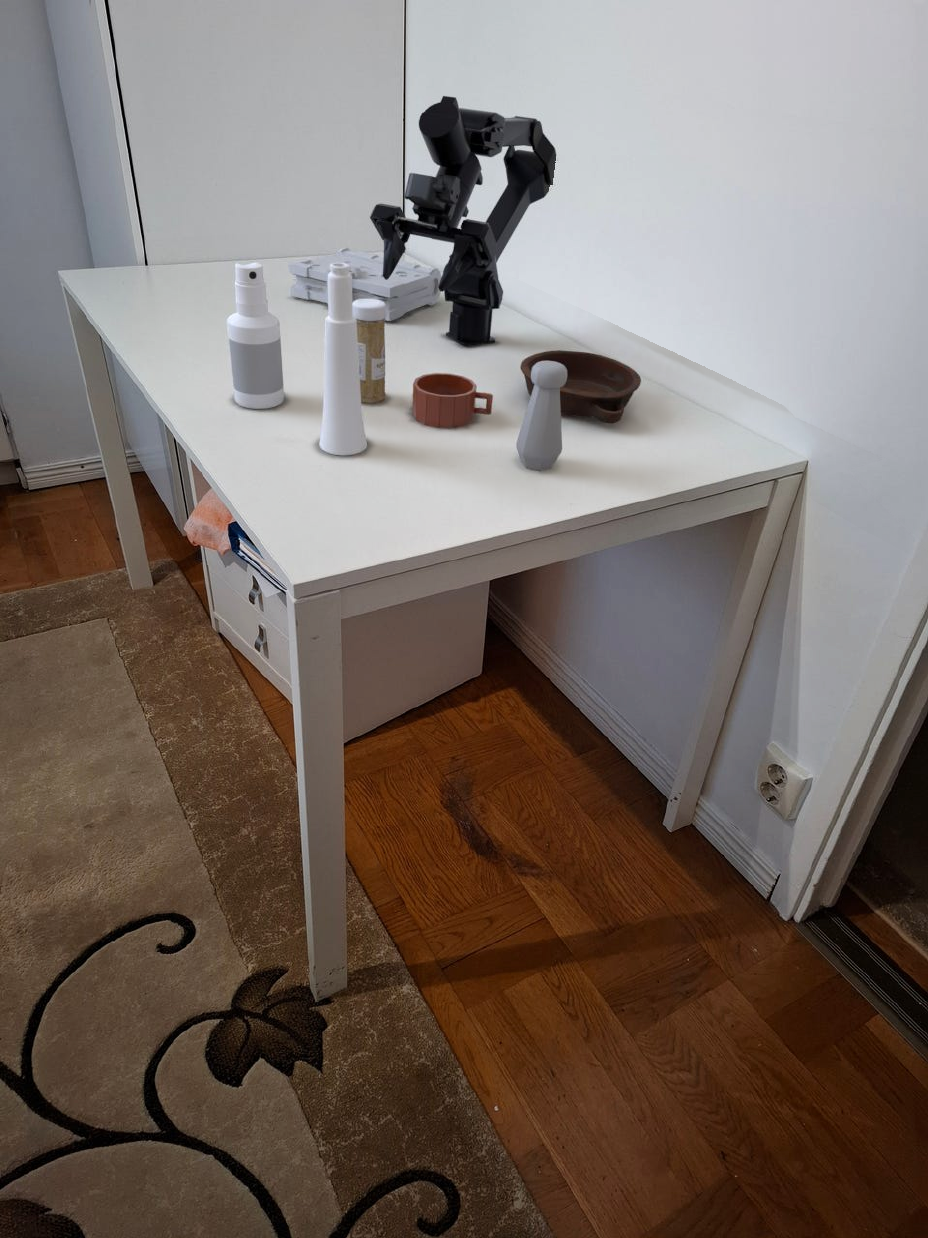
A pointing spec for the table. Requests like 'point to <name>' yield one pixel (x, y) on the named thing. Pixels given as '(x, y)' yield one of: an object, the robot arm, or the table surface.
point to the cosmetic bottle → (341, 370)
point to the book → (369, 281)
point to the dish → (589, 383)
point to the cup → (447, 400)
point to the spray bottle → (254, 343)
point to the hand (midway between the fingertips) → (412, 283)
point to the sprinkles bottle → (371, 348)
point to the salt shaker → (543, 418)
